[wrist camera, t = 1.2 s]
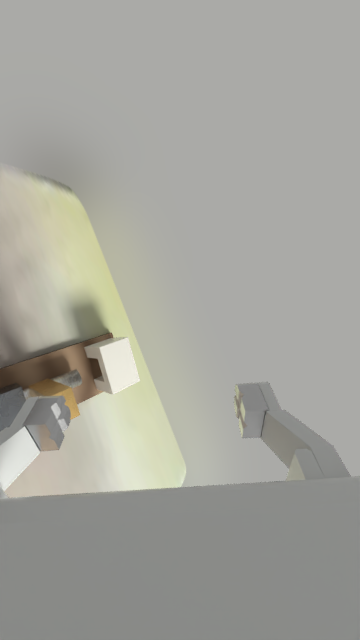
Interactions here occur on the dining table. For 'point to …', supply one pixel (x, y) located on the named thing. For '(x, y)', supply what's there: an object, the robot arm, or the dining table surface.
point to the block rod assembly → (58, 389)
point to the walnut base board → (58, 369)
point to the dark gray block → (10, 404)
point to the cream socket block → (114, 364)
